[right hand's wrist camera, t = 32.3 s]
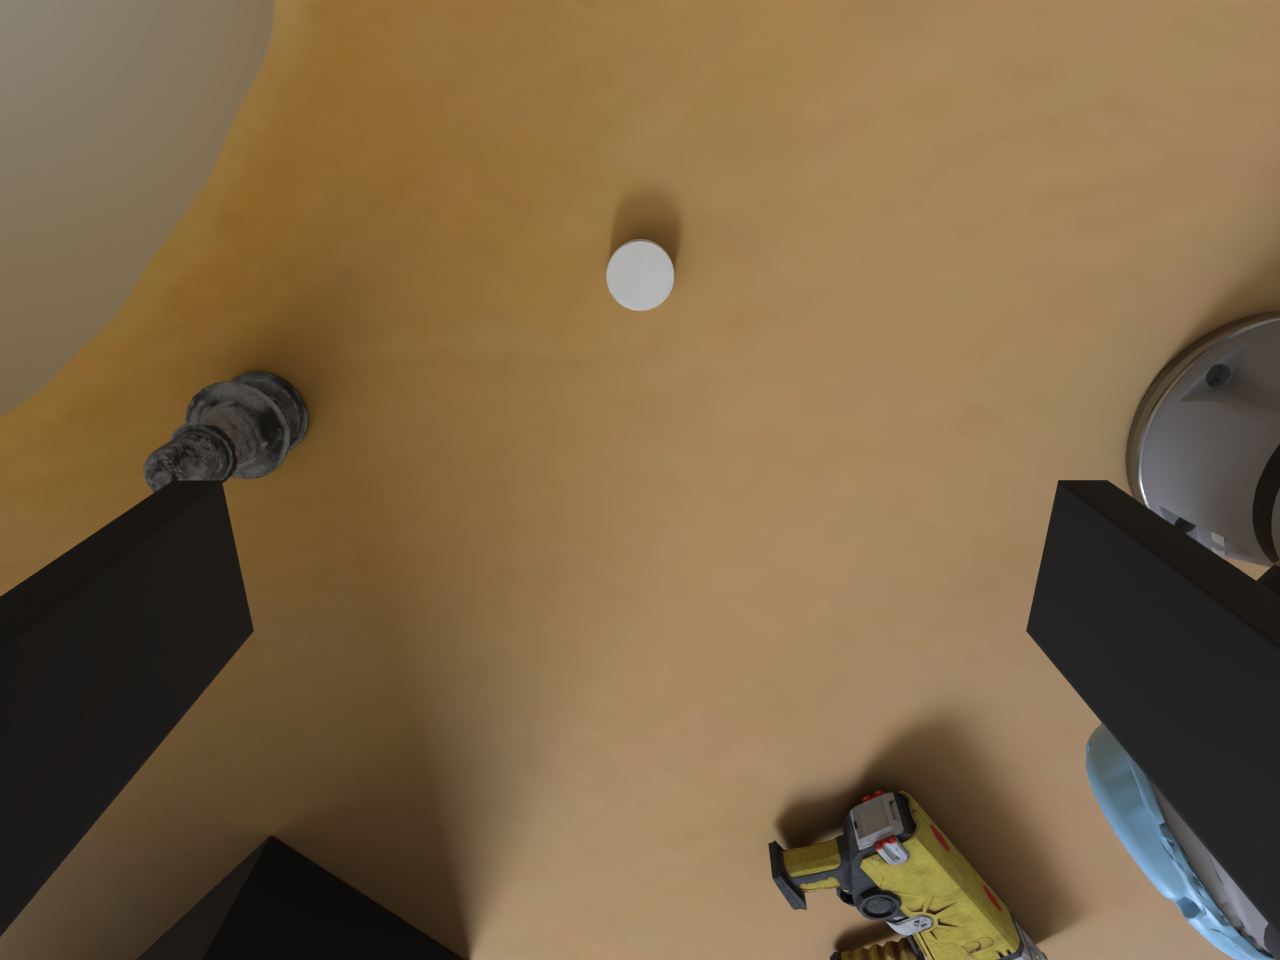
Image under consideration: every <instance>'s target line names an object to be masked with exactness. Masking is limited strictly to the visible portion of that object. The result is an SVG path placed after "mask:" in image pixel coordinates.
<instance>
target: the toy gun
mask: <svg viewBox="0 0 1280 960" xmlns="http://www.w3.org/2000/svg"><path fill="white" fill-rule="evenodd" d="M862 801H863V803H862V804H860V805H858V806H856V807H854V808H853V809H852V810H850V811H849V812H848V814H847V816H846V818H845V820H844V822H843V830H844V834H843V835H841V836H838V837H837V838H835V839H833V840H829V841H825V842H822V843H818V844H814V845H811V846H807V847H801V848H795V849H789V850H783V849H782V847H781V846H780V845H779V844H778V843H777V842H776V841H774V842H772V843H769V852H770V860H771V869H772V877H773V880H774V882H775V883H776V885H777V886H778V888H779V889H780V891H781V892H782V894H783V895H784V896H785V898H786V899H787V901H788V902H789V904H790V905H791V907H792V908H793V909H794V910H795V909H803V910H807V907H806V901H805V894H804V892H815V891H817V890H822V889H832V888H836V890H837V895H838V897H839V898H840V899H841V900H842V901H843V902H845V903H847V904H849V905H851V906H856V907H857V909H858V911H860V912H861V914H862V915H863V916H864V917H866V918H868V919H871V920H885V921H886V922H887V923H888V924H889V925H890V926H891V928H893V929H894V930H895V931H896V932H897V933H899V934H901V935H906V937H905V938H901V939H900V940H899V942H894V941H887V942H886V943H885V945H884V946H883V947H882V946H880V945H878V944H874V945H873V946H871V947H870V948H869V949H865V948H862V947H860V948H857V949H856V950H855V952H854V953H853V952H851V951H844V952H842V953H839V952H834V953H833V954H832V956H830V960H925V958H924V955H925V956H928V958H929V959H931V960H963V959H972V958H974V959H975V960H1038V959H1037V957H1036V956H1038V957H1039V960H1048V959H1047V956H1046V955H1045V954H1044V953H1043V952H1041V951H1040V950H1039V948H1038V947H1037V946H1036V945H1035V944H1034V941H1033V940H1032V939H1031V938H1029V937H1028V936H1027V934H1026V933H1025V932H1024V931H1023V930H1022V928H1021V926H1020V925H1019V924H1018V923H1016V922H1015V920H1014V918H1013V915H1012V913H1011V911H1010V910H1009V908H1008V907H1007V906H1006V905H1005V904H1004V903H1003V902H1002V901H1001V900H1000V898H999V897H998V896H997V895H996V894H995V893H994V891H993V890H992V889H991V888H990V887H989V886H988V884H987V883H986V882H985V881H984V880H983V879H982V877H981V876H980V875H979V874H978V873H977V872H976V871H975V869H974V868H973V867H972V866H971V865H970V864H969V862H968V861H967V860H966V859H965V858H964V857H963V855H962V854H961V853H960V852H959V851H958V850H957V848H956V847H955V846H954V845H953V844H952V843H951V842H950V840H949V839H948V838H947V837H946V836H945V835H944V833H943V832H942V831H941V830H940V829H939V828H938V826H937V825H936V824H935V823H934V822H933V821H932V819H931V818H930V817H929V816H928V815H927V814H926V812H925V811H924V810H923V809H922V808H921V807H920V806H919V804H918V803H917V802H916V801H915V800H914V799H913V797H912V796H911V795H910V794H909V793H907V792H904V791H902V790H901V791H899V792H897V793H894V792H890V793H886V794H885V793H884V792H883V791H882V790H881V789H880V790H877V791H875V792H874V794H873V795H872V796H870V795H866V796H864V797H863V798H862ZM842 889H843V890H849V891H848V892H844V891H843V890H842ZM849 893H852V894H849ZM923 953H924V954H923Z"/></svg>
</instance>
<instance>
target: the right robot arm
mask: <svg viewBox="0 0 1280 960" xmlns="http://www.w3.org/2000/svg"><path fill="white" fill-rule="evenodd" d="M1126 473H1127V479H1128V483H1129V487H1130V489H1131V492H1132V495H1133V497H1134V498H1133V497H1131V496H1130V495H1128V494H1127V493H1125V492H1124V491H1122V490H1121V489H1119V488H1118V487H1116V486H1115V485H1113V484H1112V483H1110V482H1109V481H1107V480H1058V485H1057V489H1056V494H1055V499H1054V503H1053V508H1052V513H1051V517H1050V522H1049V527H1048V532H1047V536H1046V541H1045V546H1044V550H1043V555H1042V560H1041V564H1040V569H1039V574H1038V578H1037V583H1036V588H1035V593H1034V597H1033V602H1032V607H1031V611H1030V616H1029V621H1028V625H1027V630H1026V631H1027V632H1028V634H1029V635H1030V636H1031V637H1032V638H1033V640H1034V641H1035V642H1036V643H1037V644H1038V646H1039V647H1040V648H1041V649H1042V651H1043V652H1044V653H1045V654H1046V655H1047V657H1048V658H1049V659H1050V660H1051V661H1052V663H1053V664H1054V665H1055V666H1056V667H1057V669H1058V670H1059V671H1060V672H1061V673H1062V675H1063V676H1064V677H1065V678H1066V679H1067V681H1068V682H1069V683H1070V684H1071V686H1072V687H1073V688H1074V689H1075V690H1076V692H1077V693H1078V694H1079V695H1080V696H1081V698H1082V699H1083V700H1084V701H1085V702H1086V704H1087V705H1088V706H1089V707H1090V708H1091V710H1092V711H1093V712H1094V713H1095V714H1096V716H1097V717H1098V718H1099V719H1100V721H1101V722H1102V723H1101V724H1100V725H1099V726H1098V727H1097V728H1096V729H1095V731H1094V732H1093V733H1092V735H1091V736H1090V738H1089V740H1088V743H1087V746H1086V771H1087V775H1088V779H1089V782H1090V785H1091V788H1092V790H1093V793H1094V795H1095V797H1096V799H1097V801H1098V803H1099V805H1100V807H1101V809H1102V811H1103V813H1104V815H1105V816H1106V818H1107V820H1108V822H1109V823H1110V825H1111V827H1112V828H1113V830H1114V831H1115V833H1116V834H1117V836H1118V837H1119V839H1120V840H1121V842H1122V843H1123V845H1124V846H1125V848H1126V849H1127V851H1128V852H1129V853H1130V855H1131V856H1132V857H1133V859H1134V860H1135V861H1136V863H1137V864H1138V865H1139V867H1140V868H1141V869H1142V871H1143V872H1144V873H1145V874H1146V876H1147V877H1148V878H1149V879H1150V881H1151V882H1152V883H1153V884H1154V886H1155V887H1156V888H1157V889H1158V890H1159V891H1160V892H1161V893H1162V894H1163V895H1164V896H1165V897H1166V898H1167V899H1172V900H1173V901H1175V902H1176V904H1177V906H1178V908H1179V909H1180V910H1181V912H1182V914H1183V915H1184V917H1185V918H1186V920H1187V921H1188V922H1189V923H1190V924H1191V925H1192V926H1193V927H1194V928H1195V929H1196V930H1197V931H1198V932H1200V933H1201V934H1202V935H1203V936H1204V937H1205V938H1206V939H1207V940H1208V941H1210V942H1211V943H1212V944H1213V945H1215V946H1216V947H1217V948H1219V949H1220V950H1221V951H1223V952H1224V953H1226V954H1227V955H1229V956H1230V957H1232V958H1234V959H1236V960H1280V312H1272V313H1265V314H1260V315H1255V316H1251V317H1248V318H1244V319H1241V320H1238V321H1236V322H1233V323H1231V324H1228V325H1226V326H1224V327H1222V328H1220V329H1217V330H1215V331H1214V332H1212V333H1210V334H1208V335H1207V336H1205V337H1203V338H1202V339H1200V340H1199V341H1197V342H1196V343H1194V344H1193V345H1192V346H1190V347H1189V348H1188V349H1187V350H1185V351H1184V352H1183V353H1182V354H1180V355H1179V356H1178V357H1177V358H1176V359H1175V360H1174V361H1173V362H1172V363H1171V364H1170V365H1169V366H1168V367H1167V368H1166V369H1165V370H1164V371H1163V372H1162V373H1161V374H1160V376H1159V377H1158V378H1157V380H1156V381H1155V382H1154V383H1153V385H1152V386H1151V388H1150V389H1149V391H1148V392H1147V394H1146V395H1145V397H1144V399H1143V401H1142V402H1141V404H1140V406H1139V408H1138V410H1137V413H1136V415H1135V417H1134V420H1133V423H1132V426H1131V428H1130V432H1129V436H1128V441H1127V448H1126ZM1225 557H1227V558H1231V559H1236V560H1240V561H1245V562H1249V563H1254V564H1258V565H1263V566H1267V567H1271V568H1270V569H1269V570H1268V571H1267V572H1265V573H1264V574H1263V575H1262V576H1261V577H1260V578H1259V579H1258V580H1257V581H1256V580H1254V579H1253V578H1251V577H1250V576H1248V575H1247V574H1245V573H1244V572H1242V571H1241V570H1239V569H1238V568H1236V567H1235V566H1233V565H1232V564H1230V563H1229V562H1227V561H1226V560H1225ZM253 631H254V630H253V625H252V621H251V616H250V611H249V607H248V602H247V597H246V593H245V588H244V583H243V578H242V574H241V569H240V564H239V560H238V555H237V550H236V546H235V541H234V536H233V532H232V527H231V522H230V517H229V513H228V508H227V503H226V499H225V494H224V489H223V485H222V480H173V481H171V482H170V483H168V484H167V485H165V486H164V487H162V488H161V489H159V490H158V491H156V492H155V493H153V494H152V495H150V496H149V497H147V498H146V499H144V500H143V501H141V502H140V503H138V504H137V505H136V506H134V507H133V508H131V509H130V510H128V511H127V512H125V513H124V514H122V515H121V516H119V517H118V518H116V519H115V520H113V521H112V522H110V523H109V524H107V525H106V526H104V527H103V528H101V529H100V530H99V531H97V532H96V533H94V534H93V535H91V536H90V537H88V538H87V539H85V540H84V541H82V542H81V543H79V544H78V545H76V546H75V547H73V548H72V549H70V550H69V551H67V552H66V553H64V554H63V555H62V556H60V557H59V558H57V559H56V560H54V561H53V562H51V563H50V564H48V565H47V566H45V567H44V568H42V569H41V570H39V571H38V572H36V573H35V574H33V575H32V576H30V577H29V578H27V579H26V580H24V581H23V582H22V583H20V584H19V585H17V586H16V587H14V588H13V589H11V590H10V591H8V592H7V593H5V594H4V595H2V596H1V597H0V937H1V935H2V934H3V933H4V932H5V931H6V929H7V928H8V927H9V926H10V924H11V923H12V922H13V921H14V920H15V918H16V917H17V916H18V915H19V914H20V912H21V911H22V910H23V909H24V908H25V906H26V905H27V904H28V903H29V902H30V900H31V899H32V898H33V897H34V896H35V894H36V893H37V892H38V891H39V889H40V888H41V887H42V886H43V885H44V883H45V882H46V881H47V880H48V879H49V877H50V876H51V875H52V874H53V873H54V871H55V870H56V869H57V868H58V867H59V865H60V864H61V863H62V862H63V861H64V859H65V858H66V857H67V856H68V854H69V853H70V852H71V851H72V850H73V848H74V847H75V846H76V845H77V844H78V842H79V841H80V840H81V839H82V838H83V836H84V835H85V834H86V833H87V832H88V830H89V829H90V828H91V827H92V826H93V824H94V823H95V822H96V821H97V819H98V818H99V817H100V816H101V815H102V813H103V812H104V811H105V810H106V809H107V807H108V806H109V805H110V804H111V803H112V801H113V800H114V799H115V798H116V797H117V795H118V794H119V793H120V792H121V791H122V789H123V788H124V787H125V786H126V784H127V783H128V782H129V781H130V780H131V778H132V777H133V776H134V775H135V774H136V772H137V771H138V770H139V769H140V768H141V766H142V765H143V764H144V763H145V762H146V760H147V759H148V758H149V757H150V756H151V754H152V753H153V752H154V751H155V749H156V748H157V747H158V746H159V745H160V743H161V742H162V741H163V740H164V739H165V737H166V736H167V735H168V734H169V733H170V731H171V730H172V729H173V728H174V727H175V725H176V724H177V723H178V722H179V721H180V719H181V718H182V717H183V716H184V714H185V713H186V712H187V711H188V710H189V708H190V707H191V706H192V705H193V704H194V702H195V701H196V700H197V699H198V698H199V696H200V695H201V694H202V693H203V692H204V690H205V689H206V688H207V687H208V686H209V684H210V683H211V682H212V681H213V679H214V678H215V677H216V676H217V675H218V673H219V672H220V671H221V670H222V669H223V667H224V666H225V665H226V664H227V663H228V661H229V660H230V659H231V658H232V657H233V655H234V654H235V653H236V652H237V651H238V649H239V648H240V647H241V646H242V644H243V643H244V642H245V641H246V640H247V638H248V637H249V636H250V635H251V634H252V632H253Z"/></svg>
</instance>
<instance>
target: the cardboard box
mask: <svg viewBox="0 0 1280 960" xmlns="http://www.w3.org/2000/svg"><path fill="white" fill-rule="evenodd" d="M137 960H462V959H460V958H459V957H457V956H455V955H454V954H452V953H451V952H449V951H448V950H446V949H445V948H443V947H441V946H440V945H438V944H437V943H435V942H434V941H432V940H431V939H429V938H427V937H426V936H424V935H423V934H421V933H420V932H418V931H417V930H415V929H414V928H412V927H410V926H409V925H407V924H406V923H404V922H403V921H401V920H400V919H398V918H396V917H395V916H393V915H392V914H390V913H389V912H387V911H386V910H384V909H382V908H381V907H379V906H378V905H376V904H375V903H373V902H372V901H370V900H368V899H367V898H365V897H364V896H362V895H361V894H359V893H358V892H356V891H355V890H353V889H351V888H350V887H348V886H347V885H345V884H344V883H342V882H341V881H339V880H337V879H336V878H334V877H333V876H331V875H330V874H328V873H327V872H325V871H323V870H322V869H320V868H319V867H317V866H316V865H314V864H313V863H311V862H309V861H308V860H306V859H305V858H303V857H302V856H300V855H299V854H297V853H296V852H294V851H292V850H291V849H289V848H288V847H286V846H285V845H283V844H282V843H280V842H278V841H277V840H275V839H274V838H272V837H271V836H270V837H269V838H268V839H267V840H266V841H264V842H263V843H262V844H261V845H260V846H259V847H258V848H257V849H256V850H255V851H254V852H253V853H252V854H250V855H249V856H248V857H247V858H246V859H245V860H244V861H243V862H242V863H241V864H240V865H239V866H237V867H236V868H235V869H234V870H233V871H232V872H231V873H230V874H229V875H228V876H227V877H226V878H225V879H223V880H222V881H221V882H220V883H219V884H218V885H217V886H216V887H215V888H214V889H213V890H212V891H210V892H209V893H208V894H207V895H206V896H205V897H204V898H203V899H202V900H201V901H200V902H199V903H198V904H196V905H195V906H194V907H193V908H192V909H191V910H190V911H189V912H188V913H187V914H186V915H185V916H184V917H182V918H181V919H180V920H179V921H178V922H177V923H176V924H175V925H174V926H173V927H172V928H171V929H169V930H168V931H167V932H166V933H165V934H164V935H163V936H162V937H161V938H160V939H159V940H158V941H157V942H155V943H154V944H153V945H152V946H151V947H150V948H149V949H148V950H147V951H146V952H145V953H144V954H143V955H141V956H140V957H139V958H138V959H137Z"/></svg>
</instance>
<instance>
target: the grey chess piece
mask: <svg viewBox="0 0 1280 960" xmlns="http://www.w3.org/2000/svg"><path fill="white" fill-rule="evenodd" d="M185 422H186V424H185V425H182V426H180V427H179V428H178V429H177V430H176V431H175V432H174V433H173V435H172V436H171V438H170V442H168V443H167V444H165V445H163V446H162V447H160V448H158V449H157V450H155V451H154V452H153V453H152V454H150V456H149V457H148V458H147V460H146V462H145V464H144V477H145V480H146V482H147V484H148V486H149V487H150V489H151V490H152V491H154V492H156V491H158V490H159V489H161V488H162V487H164V486H165V485H167V484H168V483H170V482H171V481H173V480H222V483H223V482H226V481H227V480H228V479H229V478H230V477H234V478H242V479H252V478H260V477H262V476H265V475H267V474H269V473H271V472H273V471H274V470H275V469H276V468H277V467H279V466H280V465H281V463H282V462H283V460H284V459H285V457H286V455H287V453H288V450H291V449H292V448H294V447H295V446H296V445H297V444H298V443H300V441H301V440H302V438H303V437H304V435H305V433H306V430H307V426H308V413H307V410H306V406H305V403H304V401H303V400H302V398H301V396H300V395H299V393H298V392H297V391H296V390H295V389H294V388H293V387H292V386H291V385H290V384H289V383H288V382H286V381H285V380H283V379H282V378H280V377H278V376H275V375H273V374H270V373H265V372H250V373H245V374H243V375H240V376H238V377H236V378H234V379H233V380H232V381H231V382H230V381H227V382H220V383H214V384H212V385H210V386H207V387H205V388H203V389H202V390H201V391H199V392H198V393H197V394H196V395H195V396H194V397H193V399H192V400H191V402H190V404H189V406H188V408H187V413H186V418H185Z"/></svg>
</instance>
